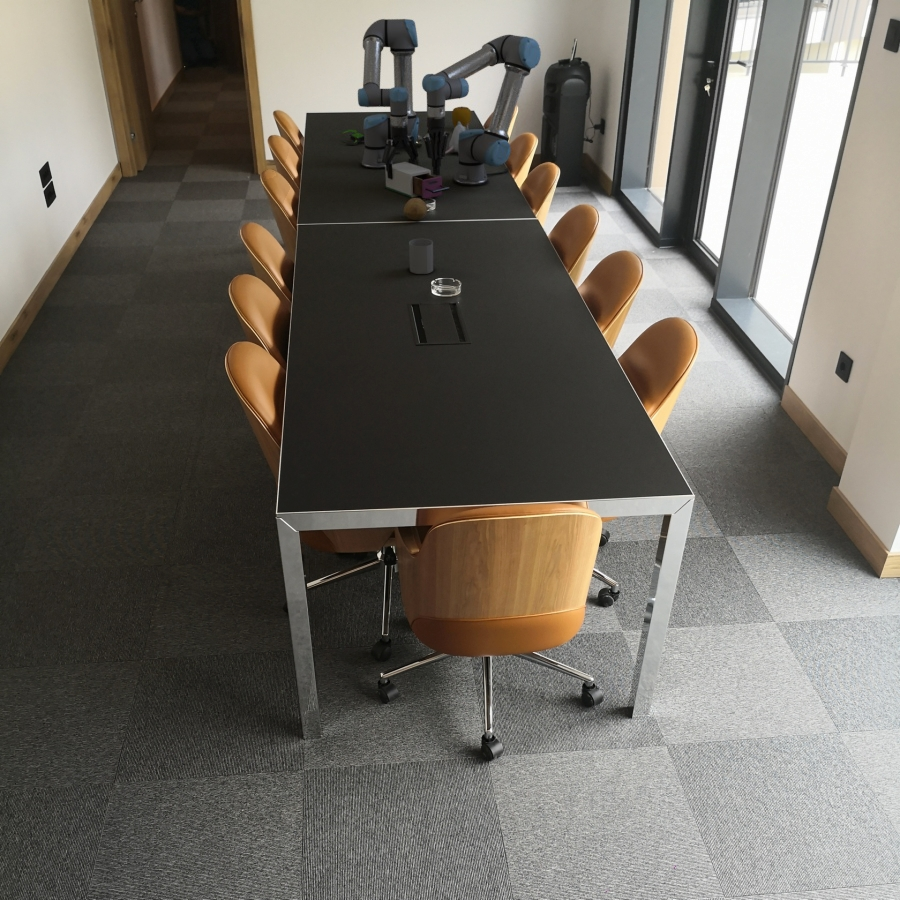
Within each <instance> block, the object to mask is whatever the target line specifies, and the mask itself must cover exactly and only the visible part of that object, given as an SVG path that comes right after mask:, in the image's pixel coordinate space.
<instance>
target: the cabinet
mask: <svg viewBox="0 0 900 900" xmlns="http://www.w3.org/2000/svg"><path fill="white" fill-rule="evenodd" d="M384 170H385V171H384V172H385V189H387V190H390V191H392V192H395V193H398V194H400V195H403V196H407V197H409V198H416V197H418V196H419V195H417V194H414V193H413V179H412V177H413V176H417V175H422V174H426V173H427V174H430V175H432V170H431V169H429V168H426V167H423V166H420V165H417V164H415V165H414V164H411V163H409V162H407V161H402V162H397V163H393V164H392V177H393V179H389V178H388V173H387V171H386V166H385V168H384ZM419 197H420V196H419Z"/></svg>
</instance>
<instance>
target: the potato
mask: <svg viewBox="0 0 900 900" xmlns="http://www.w3.org/2000/svg"><path fill="white" fill-rule="evenodd" d="M427 213H428V205H427V203H426V202H425V201H424V200H423V199H421V198H420V197H411V198H410V199H408V201H407V202H406V203H405V204H404V207H403V214H404V216H406V217H407V219H409V220H412V221H420V220H422V219H423V218H425V217H426V214H427Z"/></svg>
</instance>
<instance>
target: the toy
mask: <svg viewBox="0 0 900 900" xmlns="http://www.w3.org/2000/svg"><path fill="white" fill-rule="evenodd" d="M465 130H470V129H469V126H468V124H467V128H466V127H463V126H462V124H461V123H460V122H459V121H458V124H457V126H456V127H455V128H453V132H452V133H451V137H450V138H451V139H450V140H449V145H448V146H449V149H446V151H445V155H446V154H448V153H450V154H454V152H455V153H457V155H459V148H458V140H459V133H460V132H461V131H465Z"/></svg>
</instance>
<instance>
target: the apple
mask: <svg viewBox="0 0 900 900" xmlns="http://www.w3.org/2000/svg"><path fill="white" fill-rule="evenodd" d="M451 121H452V125H453V129H455V127H456V126H457V124H458V121H459V122H460V123H461V124H462V126H463V127H466V128H467V124H468V127H469V126H470V124H471V121H472V111H471V108H469V107H467V106H462V105H461V106H457V107H454V108H452V111H451Z"/></svg>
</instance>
